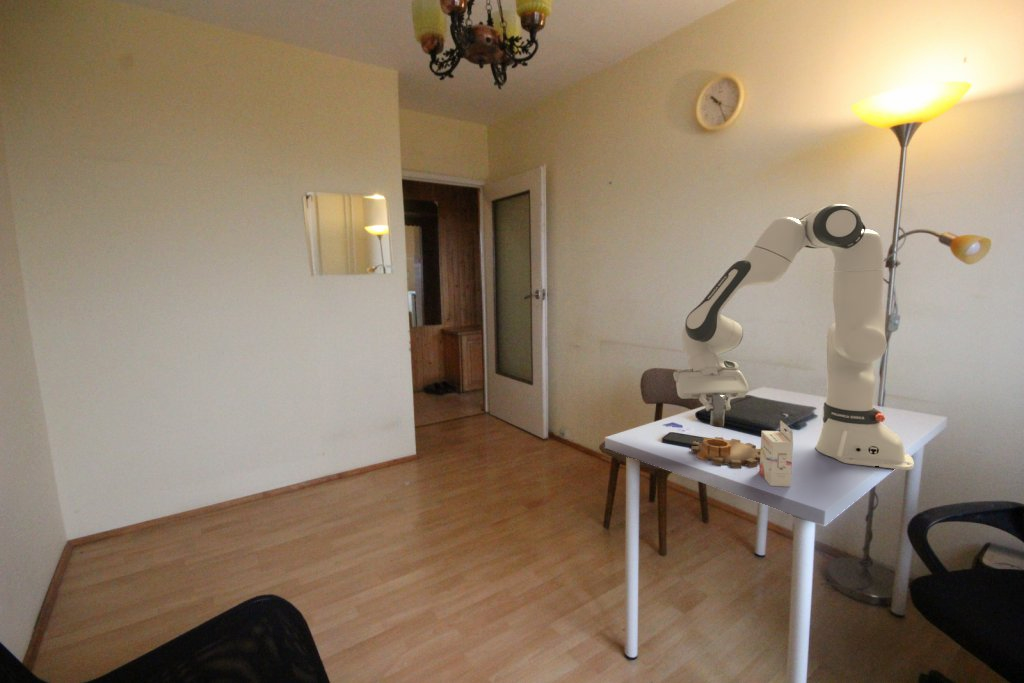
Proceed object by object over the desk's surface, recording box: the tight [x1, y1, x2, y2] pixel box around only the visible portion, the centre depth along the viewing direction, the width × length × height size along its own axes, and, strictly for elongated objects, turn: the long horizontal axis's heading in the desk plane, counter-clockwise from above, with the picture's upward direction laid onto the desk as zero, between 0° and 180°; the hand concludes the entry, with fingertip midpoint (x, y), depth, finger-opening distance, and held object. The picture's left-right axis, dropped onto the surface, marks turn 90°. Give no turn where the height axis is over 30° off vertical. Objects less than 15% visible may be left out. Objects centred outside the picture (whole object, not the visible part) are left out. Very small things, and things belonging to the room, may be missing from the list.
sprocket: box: [690, 436, 761, 469], centre depth 136 cm, size 20×20×4 cm
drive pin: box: [709, 393, 726, 428], centre depth 133 cm, size 4×4×9 cm
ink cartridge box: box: [758, 420, 794, 487], centre depth 118 cm, size 9×5×15 cm, turn 170°
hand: (718, 409), depth 132 cm, fingers closed on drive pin, 4 cm apart
